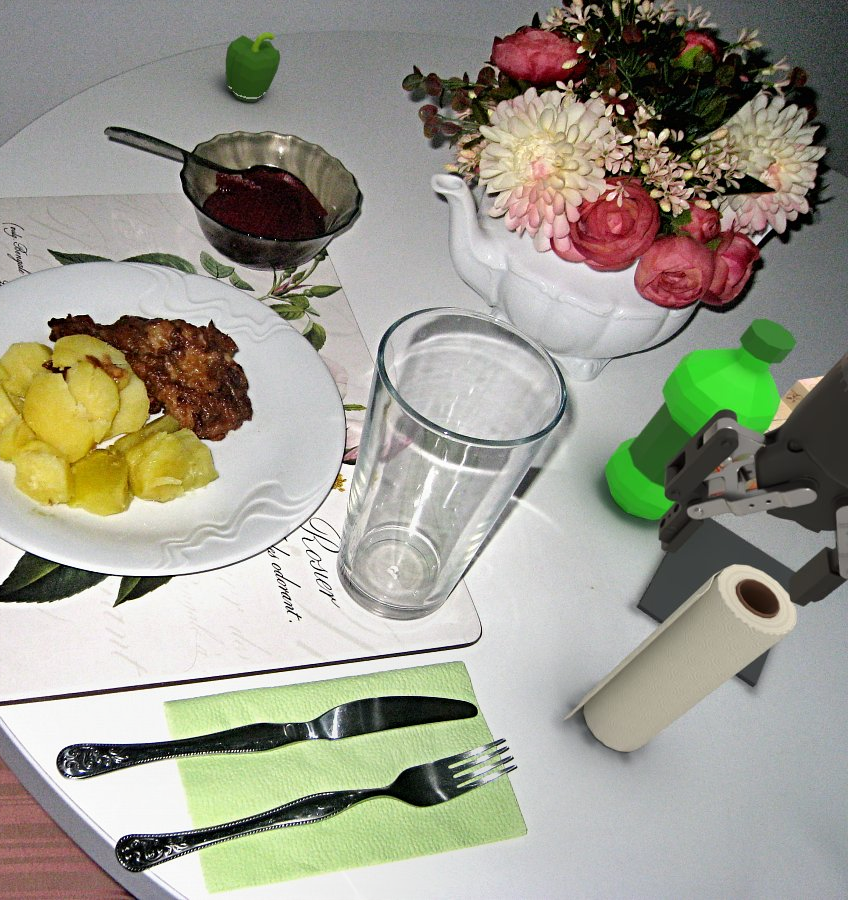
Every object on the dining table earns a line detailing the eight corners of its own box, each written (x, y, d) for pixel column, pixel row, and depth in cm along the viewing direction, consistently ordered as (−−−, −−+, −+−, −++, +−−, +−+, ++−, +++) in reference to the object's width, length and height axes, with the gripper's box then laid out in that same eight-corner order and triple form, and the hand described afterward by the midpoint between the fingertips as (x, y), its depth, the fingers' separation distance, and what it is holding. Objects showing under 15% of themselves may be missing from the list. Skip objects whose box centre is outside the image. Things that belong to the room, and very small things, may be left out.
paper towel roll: (651, 714, 82) (803, 590, 67) (636, 767, 79) (794, 649, 63) (579, 671, 84) (712, 540, 68) (561, 720, 80) (697, 594, 64)
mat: (796, 576, 98) (799, 574, 98) (753, 687, 87) (756, 684, 86) (690, 509, 102) (693, 506, 101) (636, 607, 91) (639, 604, 90)
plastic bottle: (642, 550, 96) (793, 386, 77) (572, 480, 101) (698, 310, 82) (695, 517, 101) (849, 357, 82) (626, 452, 106) (756, 286, 87)
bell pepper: (219, 102, 141) (231, 39, 133) (220, 77, 146) (231, 15, 139) (271, 112, 142) (286, 50, 135) (270, 86, 148) (284, 26, 140)
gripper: (786, 386, 44) (621, 569, 56) (1078, 496, 43) (845, 659, 55) (776, 302, 49) (626, 486, 61) (1037, 398, 48) (832, 567, 60)
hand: (730, 568), depth 58 cm, fingers open, 8 cm apart
